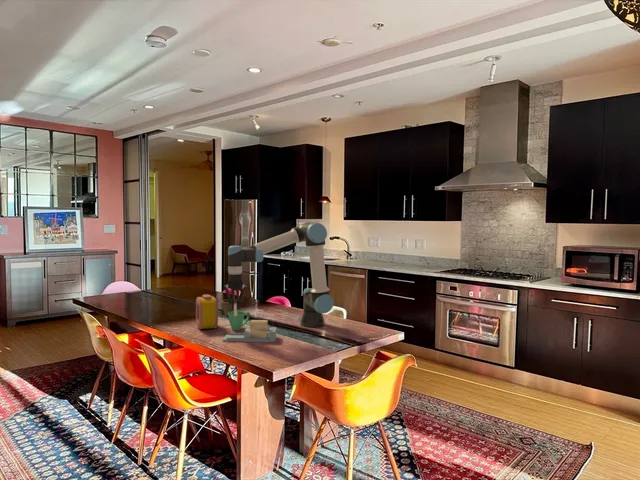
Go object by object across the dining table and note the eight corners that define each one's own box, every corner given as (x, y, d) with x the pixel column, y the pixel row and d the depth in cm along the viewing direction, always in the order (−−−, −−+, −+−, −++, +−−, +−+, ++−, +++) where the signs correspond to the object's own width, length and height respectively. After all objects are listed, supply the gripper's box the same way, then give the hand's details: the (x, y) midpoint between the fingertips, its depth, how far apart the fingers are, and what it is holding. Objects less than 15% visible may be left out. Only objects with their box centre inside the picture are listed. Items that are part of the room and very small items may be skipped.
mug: (234, 332, 265) (234, 315, 265) (224, 329, 272) (224, 312, 272) (254, 327, 276) (254, 311, 276) (244, 325, 283) (244, 309, 282)
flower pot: (239, 316, 306) (239, 301, 305) (221, 317, 303) (221, 302, 302) (237, 313, 317) (237, 298, 316) (221, 313, 314) (221, 299, 313)
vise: (226, 336, 256) (226, 326, 255) (276, 337, 256) (276, 327, 256) (222, 341, 246) (222, 331, 245) (274, 341, 246) (275, 331, 246)
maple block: (251, 336, 253) (251, 320, 253) (267, 336, 254) (267, 320, 253) (250, 338, 248) (250, 322, 248) (266, 338, 249) (266, 322, 248)
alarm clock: (195, 324, 282) (195, 293, 281) (213, 323, 286) (213, 292, 285) (199, 331, 265) (199, 298, 264) (218, 330, 269) (218, 297, 268)
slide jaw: (246, 334, 255) (246, 328, 255) (251, 334, 255) (251, 328, 255) (244, 338, 246) (244, 332, 246) (249, 338, 247) (249, 332, 246)
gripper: (222, 274, 249) (222, 317, 251) (246, 274, 250) (246, 316, 251) (224, 272, 257) (225, 314, 258) (247, 272, 257) (248, 313, 259)
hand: (235, 315), depth 255 cm, fingers closed
